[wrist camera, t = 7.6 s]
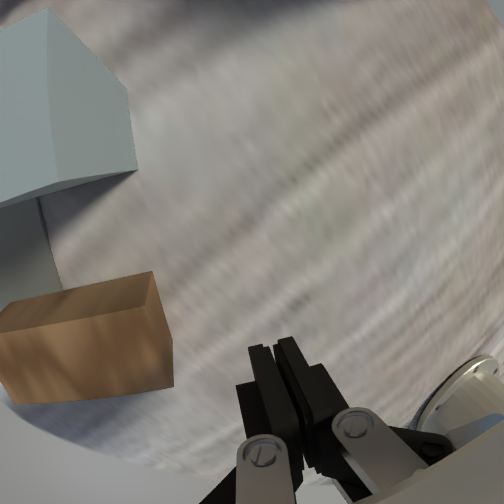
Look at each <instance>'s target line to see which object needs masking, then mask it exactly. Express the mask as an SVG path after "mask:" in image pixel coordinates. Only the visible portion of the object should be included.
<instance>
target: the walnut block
mask: <svg viewBox="0 0 504 504" xmlns="http://www.w3.org/2000/svg"><path fill="white" fill-rule="evenodd" d="M0 381H1V383H2V384H3V386H4V388H5V389H6V391H7V393H8V394H9V396H10V397H11V399H12V401H13V402H14V404H37V403H55V402H68V401H79V400H89V399H98V398H107V397H115V396H122V395H129V394H136V393H142V392H148V391H154V390H160V389H166V388H171V387H174V378H173V340H172V337H171V334H170V331H169V327H168V324H167V321H166V318H165V315H164V311H163V308H162V304H161V301H160V298H159V294H158V291H157V287H156V283H155V280H154V276H153V272H152V271H150V272H146V273H141V274H137V275H132V276H128V277H123V278H119V279H114V280H110V281H105V282H101V283H96V284H91V285H87V286H82V287H78V288H73V289H69V290H64V291H60V292H55V293H51V294H46V295H42V296H38V297H33V298H29V299H24V300H20V301H15V302H11V303H9V304H8V305H7V306H6V307H5V308H4V309H3V310H2V311H1V312H0Z"/></svg>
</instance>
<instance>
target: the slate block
mask: <svg viewBox="0 0 504 504" xmlns="http://www.w3.org/2000/svg"><path fill="white" fill-rule="evenodd" d="M134 170H138V164H137V159H136V153H135V147H134V141H133V134H132V128H131V121H130V114H129V106H128V98H127V90H126V88H125V87H124V86H123V84H122V83H121V82H120V81H119V80H118V79H117V78H116V77H115V76H114V75H113V74H112V73H111V72H110V71H109V69H108V68H107V67H106V66H105V65H104V64H103V63H102V62H101V61H100V60H99V59H98V58H97V57H96V56H95V55H94V54H93V53H92V51H91V50H90V49H89V48H88V47H87V46H86V45H85V44H84V43H83V42H82V41H81V40H80V39H79V38H78V37H77V36H76V35H75V34H74V33H73V32H72V30H71V29H70V28H69V27H68V26H67V25H66V24H65V23H64V22H63V21H62V20H61V19H60V18H59V17H58V16H57V15H56V14H55V13H54V12H53V11H52V10H51V9H50V8H49V7H47V8H44V9H42V10H40V11H38V12H36V13H33V14H31V15H29V16H27V17H25V18H23V19H21V20H19V21H17V22H15V23H14V24H12V25H10V26H8V27H6V28H4V29H3V30H1V31H0V208H2V207H5V206H8V205H11V204H15V203H18V202H21V201H25V200H28V199H32V198H35V197H39V196H42V195H46V194H50V193H53V192H57V191H61V190H65V189H68V188H71V187H75V186H78V185H81V184H85V183H88V182H92V181H96V180H99V179H103V178H107V177H110V176H114V175H118V174H122V173H126V172H130V171H134Z"/></svg>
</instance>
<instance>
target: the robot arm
mask: <svg viewBox="0 0 504 504" xmlns="http://www.w3.org/2000/svg"><path fill="white" fill-rule="evenodd" d="M273 350H274V356H275V360H274V358H273V355H272V353H271V350H270V348H269V346H267V347H263V345H262V344H259V345H255V346H250V347H248V351H249V356H250V360H251V365H252V369H253V374H254V378H255V381H253V382H248V383H244V384H239V385H236V390H237V395H238V400H239V404H240V409H241V414H242V418H243V423H244V428H245V432H246V437H247V440H246V441H244V442H243V443H242V444H241V445H240V447H239V448H238V451H237V463H236V467H235V468H234V469H233V470H232V471H231V472H230V473H229V474H228V475H227V476H226V477H225V478H224V479H223V480H222V481H221V482H220V483H219V484H218V485H217V486H216V488H214V490H212V491H211V492H210V494H208V495H207V496H206V497H205V498H204V499H203V500H202V501H201V502H200V503H199V504H297V502H296V495H295V492H296V491H297V489H298V488H299V486H300V485H301V484H302V482H303V474H302V470H304V461H303V455H304V458H305V460H306V463H307V465H308V467H309V468H312V467H314V468H315V470H316V473H317V474H319V473H321V474H322V475H323V476H326V477H330V478H331V479H332V481H333V483H334V485H335V486H336V487H337V489H338V490H339V492H340V493H341V494H342V496H343V497H344V499H345V500H346V502H347V503H348V504H504V384H503V383H502V382H501V381H500V380H498V375H499V363H498V361H497V360H496V359H495V358H493V357H492V356H490V355H482V356H479V357H476V358H475V359H473V360H471V361H469V362H468V363H467V364H465V365H464V366H463V367H461V368H460V369H459V370H458V371H457V372H456V373H454V374H453V375H452V376H451V377H450V378H449V379H448V380H447V381H446V382H445V384H444V385H443V386H442V387H441V388H440V389H439V390H438V391H437V393H436V394H435V395H434V397H433V398H432V399H431V401H430V402H429V404H428V405H427V406H426V408H425V410H424V411H423V413H422V415H421V417H420V419H419V422H418V424H417V428H416V430H409V429H403V428H398V427H392V426H387V425H386V424H385V423H384V422H383V421H382V420H381V419H380V418H379V417H378V416H377V415H376V414H375V413H374V412H373V411H371V410H369V409H366V408H361V407H354V408H350V407H349V406H348V404H347V403H346V401H345V399H344V398H343V396H342V395H341V393H340V391H339V390H338V388H337V387H336V385H335V383H334V382H333V380H332V379H331V377H330V375H329V374H328V372H327V370H326V369H325V367H324V366H323V365H322V364H321V363H320V364H317V365H313V366H310V367H309V365H308V363H307V362H306V360H305V358H304V356H303V354H302V353H301V351H300V349H299V347H298V345H297V344H296V342H295V340H294V338H293V337H292V336H291V337H287V338H283V339H279V340H278V344H275V345H273ZM275 361H276V363H275Z"/></svg>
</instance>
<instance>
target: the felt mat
mask: <svg viewBox="0 0 504 504" xmlns="http://www.w3.org/2000/svg"><path fill="white" fill-rule="evenodd" d="M60 291H64V290H63V287H62V284H61V281H60V278H59V275H58V272H57V269H56V266H55V263H54V259H53V256H52V252H51V249H50V245H49V242H48V238H47V234H46V230H45V227H44V222H43V218H42V214H41V210H40V205H39V200H38V197H35V198H32V199H28V200H25V201H21V202H18V203H15V204H11V205H8V206H5V207H2V208H0V312H1V311H2V310H3V309H4V308H5V307H6V306H7V305H8V304H9V303H11V302H15V301H20V300H24V299H29V298H33V297H38V296H42V295H46V294H51V293H55V292H60Z"/></svg>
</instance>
